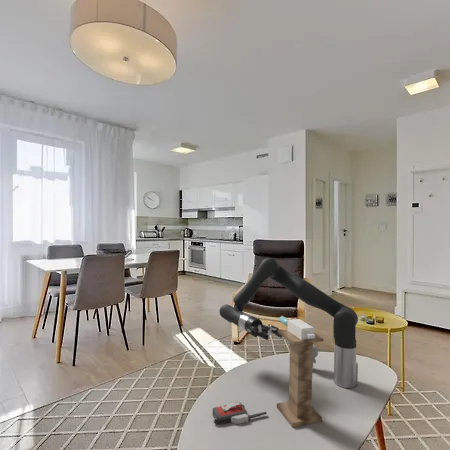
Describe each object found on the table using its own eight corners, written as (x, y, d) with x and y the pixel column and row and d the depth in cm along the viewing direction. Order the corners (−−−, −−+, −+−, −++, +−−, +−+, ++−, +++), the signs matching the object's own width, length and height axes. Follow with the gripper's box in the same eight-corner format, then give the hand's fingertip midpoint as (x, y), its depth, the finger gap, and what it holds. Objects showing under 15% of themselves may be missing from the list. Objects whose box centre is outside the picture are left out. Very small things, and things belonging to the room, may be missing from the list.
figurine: (312, 364, 154) (312, 340, 154) (320, 371, 146) (321, 346, 146) (297, 366, 152) (298, 342, 151) (305, 373, 144) (306, 348, 144)
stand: (303, 402, 121) (305, 327, 120) (321, 421, 109) (323, 338, 109) (276, 407, 117) (278, 330, 117) (292, 427, 106) (294, 342, 105)
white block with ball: (286, 321, 128) (286, 311, 128) (318, 341, 106) (318, 330, 106) (275, 322, 127) (275, 312, 126) (305, 343, 105) (306, 331, 105)
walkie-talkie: (216, 430, 104) (267, 418, 111) (216, 417, 104) (268, 406, 111) (208, 415, 112) (257, 404, 119) (208, 403, 112) (257, 393, 119)
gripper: (239, 317, 137) (264, 329, 124) (262, 314, 146) (287, 326, 133) (237, 333, 137) (262, 347, 124) (260, 330, 146) (285, 343, 132)
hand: (275, 336), depth 128 cm, fingers open, 8 cm apart
